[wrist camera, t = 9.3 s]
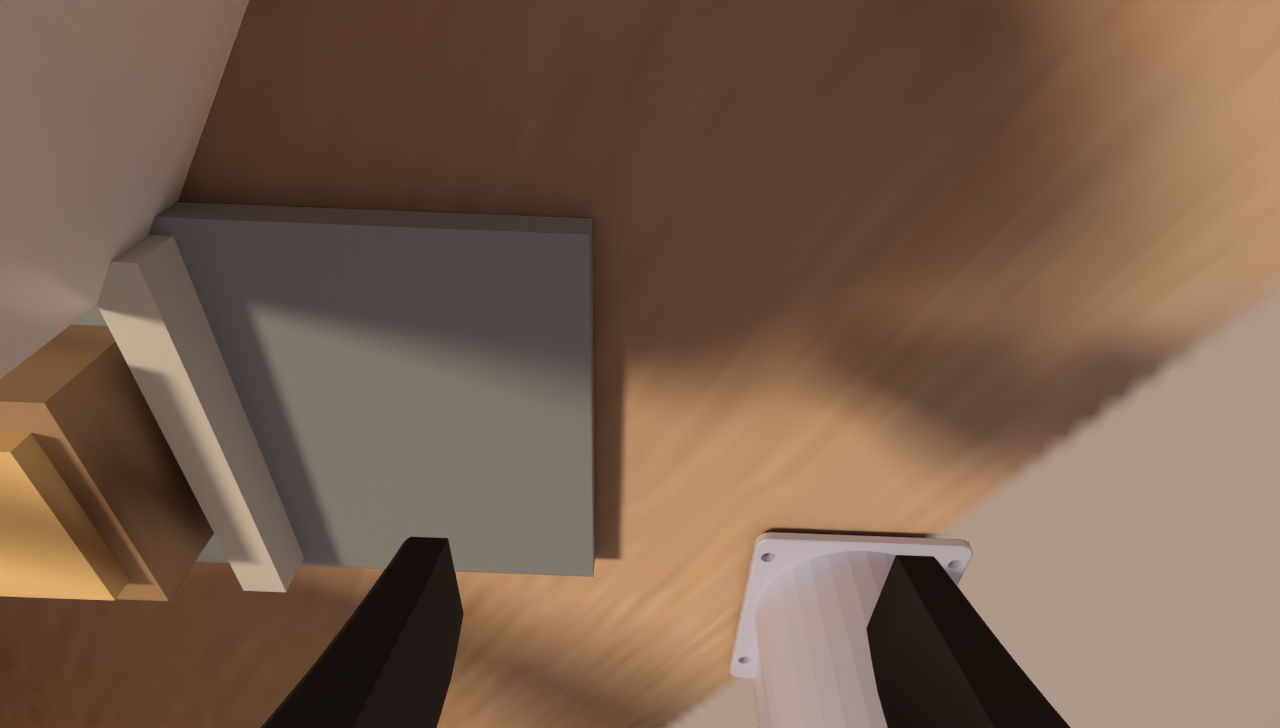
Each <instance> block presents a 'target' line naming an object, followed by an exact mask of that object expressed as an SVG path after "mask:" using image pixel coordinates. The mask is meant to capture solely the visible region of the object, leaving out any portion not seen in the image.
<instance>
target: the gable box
mask: <svg viewBox="0 0 1280 728" xmlns="http://www.w3.org/2000/svg"><path fill="white" fill-rule="evenodd" d="M248 3H249V0H0V379H1V378H3V377H4V376H5V375H6V374H8V373H9V372H10V371H12V370H13V369H14V368H16V367H17V366H18V365H19V364H21V363H22V362H23V361H25V360H26V359H27V358H28V357H30V356H31V355H32V354H34V353H35V352H36V351H37V350H39V349H40V348H41V347H43V346H44V345H45V344H47V343H48V342H49V341H50V340H52V339H53V338H54V337H56V336H57V335H58V334H59V333H61V332H62V331H63V330H65V329H66V328H67V327H68V326H70V325H71V324H72V323H74V322H75V321H76V320H78V319H79V318H80V317H81V316H83V315H84V314H85V313H87V312H88V311H89V310H90V309H92V308H93V307H94V306H96V305H97V303H98V300H99V297H100V293H101V290H102V287H103V284H104V280H105V277H106V274H107V271H108V268H109V264H110V262H111V261H112V260H114V259H115V258H117V257H118V256H119V255H121V254H122V253H124V252H125V251H126V250H128V249H129V248H131V247H132V246H133V245H135V244H136V243H138V242H139V241H140V240H142V239H143V238H145V237H146V236H147V235H148V234H149V231H150V228H151V225H152V222H153V219H154V217H155V216H157V215H158V214H160V213H161V212H163V211H164V210H165V209H167V208H168V207H170V206H171V205H173V204H174V203H176V202H178V199H179V196H180V193H181V191H182V188H183V185H184V182H185V179H186V177H187V174H188V171H189V168H190V165H191V163H192V160H193V157H194V154H195V151H196V149H197V146H198V143H199V140H200V137H201V135H202V132H203V129H204V126H205V123H206V120H207V118H208V115H209V112H210V109H211V106H212V104H213V101H214V98H215V95H216V92H217V90H218V87H219V84H220V81H221V78H222V76H223V73H224V70H225V67H226V64H227V62H228V59H229V56H230V53H231V50H232V48H233V45H234V42H235V39H236V36H237V34H238V31H239V28H240V25H241V22H242V19H243V17H244V14H245V11H246V8H247V5H248Z"/></svg>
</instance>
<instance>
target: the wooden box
mask: <svg viewBox="0 0 1280 728" xmlns="http://www.w3.org/2000/svg"><path fill="white" fill-rule="evenodd" d="M213 534H214V532H213V530H212V528H211V526H210V524H209V522H208V520H207V518H206V516H205V514H204V513H203V511H202V509H201V507H200V505H199V503H198V501H197V499H196V497H195V495H194V493H193V491H192V489H191V487H190V485H189V483H188V481H187V479H186V477H185V476H184V474H183V472H182V470H181V468H180V466H179V464H178V462H177V460H176V458H175V456H174V454H173V452H172V450H171V448H170V446H169V444H168V442H167V440H166V439H165V437H164V435H163V433H162V431H161V429H160V427H159V425H158V423H157V421H156V419H155V417H154V415H153V413H152V411H151V409H150V407H149V405H148V403H147V402H146V400H145V398H144V396H143V394H142V392H141V390H140V388H139V386H138V384H137V382H136V380H135V378H134V376H133V374H132V372H131V370H130V368H129V366H128V365H127V363H126V361H125V359H124V357H123V355H122V353H121V351H120V349H119V347H118V345H117V343H116V341H115V339H114V337H113V335H112V333H111V331H110V329H109V328H108V326H99V325H74V324H71V325H70V326H68V327H67V328H66V329H65V330H63V331H62V332H61V333H59V334H58V335H57V336H56V337H54V338H53V339H52V340H50V341H49V342H48V343H47V344H45V345H44V346H43V347H41V348H40V349H39V350H37V351H36V352H35V353H34V354H32V355H31V356H30V357H28V358H27V359H26V360H25V361H23V362H22V363H21V364H19V365H18V366H17V367H16V368H14V369H13V370H12V371H10V372H9V373H8V374H6V375H5V376H4V377H3V378H1V379H0V596H7V597H34V598H61V599H87V600H114V601H115V600H116V599H124V600H151V601H169V600H170V599H171V597H172V596H173V594H174V593H175V591H176V590H177V588H178V587H179V585H180V584H181V582H182V581H183V579H184V578H185V576H186V575H187V573H188V572H189V570H190V569H191V567H192V566H193V564H194V563H195V561H196V560H197V558H198V557H199V555H200V554H201V552H202V551H203V549H204V548H205V546H206V545H207V543H208V542H209V540H210V539H211V537H212V536H213Z"/></svg>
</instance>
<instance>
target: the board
mask: <svg viewBox="0 0 1280 728" xmlns="http://www.w3.org/2000/svg"><path fill="white" fill-rule="evenodd" d="M72 324H74V325H99V326H108V328H109V329H110V331H111V333H112V335H113V337H114V339H115V341H116V343H117V345H118V347H119V349H120V351H121V353H122V355H123V357H124V359H125V361H126V363H127V365H128V366H129V368H130V370H131V372H132V374H133V376H134V378H135V380H136V382H137V384H138V386H139V388H140V390H141V392H142V394H143V396H144V398H145V400H146V402H147V403H148V405H149V407H150V409H151V411H152V413H153V415H154V417H155V419H156V421H157V423H158V425H159V427H160V429H161V431H162V433H163V435H164V437H165V439H166V440H167V442H168V444H169V446H170V448H171V450H172V452H173V454H174V456H175V458H176V460H177V462H178V464H179V466H180V468H181V470H182V472H183V474H184V476H185V477H186V479H187V481H188V483H189V485H190V487H191V489H192V491H193V493H194V495H195V497H196V499H197V501H198V503H199V505H200V507H201V509H202V511H203V513H204V514H205V516H206V518H207V520H208V522H209V524H210V526H211V528H212V530H213V532H214V534H213V536H212V537H211V539H210V540H209V542H208V543H207V545H206V546H205V548H204V549H203V551H202V552H201V554H200V555H199V557H198V558H197V560H196V561H195V562H215V563H230V565H231V567H232V569H233V571H234V573H235V575H236V577H237V579H238V581H239V583H240V585H241V587H242V588H243V590H244V591H264V592H287V590H288V588H289V586H290V584H291V582H292V580H293V578H294V576H295V574H296V572H297V570H298V568H299V566H322V567H348V568H375V569H386V567H387V566H388V564H389V563H390V562H391V560H392V559H393V557H394V556H395V554H396V553H397V551H398V550H399V548H400V547H401V545H402V544H403V542H404V541H405V540H406V539H408V538H409V537H435V538H448V540H449V545H450V550H451V555H452V560H453V565H454V570H455V572H482V573H508V574H535V575H562V576H588V577H593V574H594V563H595V465H594V342H593V219H592V218H572V217H547V216H522V215H497V214H472V213H447V212H422V211H396V210H371V209H346V208H321V207H296V206H271V205H246V204H221V203H195V202H176V203H174V204H173V205H171V206H170V207H168V208H167V209H165V210H164V211H163V212H161V213H160V214H158V215H157V216H155V217H154V219H153V222H152V225H151V228H150V231H149V234H148V235H147V236H146V237H145V238H143V239H142V240H140V241H139V242H138V243H136V244H135V245H133V246H132V247H131V248H129V249H128V250H126V251H125V252H124V253H122V254H121V255H119V256H118V257H117V258H115V259H114V260H112V261H111V262H110V264H109V268H108V271H107V274H106V277H105V280H104V284H103V287H102V290H101V293H100V297H99V300H98V303H97V305H96V306H94V307H93V308H92V309H90V310H89V311H88V312H87V313H85V314H84V315H83V316H81V317H80V318H79V319H78V320H76V321H75V322H74V323H72Z"/></svg>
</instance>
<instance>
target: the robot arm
mask: <svg viewBox="0 0 1280 728" xmlns="http://www.w3.org/2000/svg"><path fill="white" fill-rule="evenodd" d="M972 554H973V551H972V549H971V547H970V545H969V543H968V542H967V541H965V540H960V539H936V538H910V537H883V536H857V535H830V534H804V533H777V532H767V533H763V534H761V535H760V536H758V537H757V538H756V540H755V545H754V550H753V554H752V559H751V564H750V569H749V574H748V579H747V583H746V588H745V593H744V598H743V603H742V608H741V613H740V617H739V622H738V627H737V632H736V637H735V642H734V646H733V651H732V656H731V661H730V672H731V674H732V675H733V676H734V677H737V678H751V679H753V681H754V690H755V698H756V706H757V715H758V722H759V728H1070V727H1069V725H1068V724H1067V723H1066V722H1065V721H1064V720H1063V718H1062V717H1061V716H1060V715H1059V714H1058V713H1057V711H1055V709H1054V708H1053V707H1052V706H1051V704H1050V703H1049V702H1048V701H1047V700H1046V698H1045V697H1044V696H1043V695H1042V693H1041V692H1040V691H1039V690H1038V689H1037V687H1036V686H1035V685H1034V684H1033V682H1032V681H1031V680H1030V679H1029V678H1028V676H1027V675H1026V674H1025V673H1024V671H1023V670H1022V669H1021V668H1020V667H1019V665H1018V664H1017V663H1016V662H1015V660H1014V659H1013V658H1012V657H1011V655H1010V654H1009V653H1008V652H1007V651H1006V649H1005V648H1004V647H1003V645H1002V644H1001V643H1000V642H999V640H998V639H997V638H996V637H995V635H994V634H993V633H992V631H991V630H990V629H989V627H988V626H987V625H986V624H985V622H984V621H983V620H982V618H981V617H980V616H979V615H978V613H977V612H976V610H975V609H974V608H973V607H972V605H971V604H970V603H969V601H968V600H967V599H966V597H965V596H964V595H963V593H962V592H961V591H960V589H959V588H958V587H957V584H958V582H959V581H960V578H961V577H962V575H963V573H964V571H965V569H966V567H967V565H968V563H969V561H970V559H971V557H972ZM462 619H463V609H462V604H461V599H460V594H459V589H458V584H457V580H456V575H455V570H454V565H453V560H452V555H451V550H450V545H449V540H448V538H435V537H409V538H408V539H406V540H405V541H404V542H403V544H402V545H401V547H400V548H399V550H398V551H397V553H396V554H395V556H394V557H393V559H392V560H391V562H390V563H389V564H388V566H387V567H386V569H385V570H384V572H383V573H382V575H381V576H380V577H379V579H378V580H377V582H376V583H375V584H374V586H373V587H372V589H371V590H370V591H369V593H368V594H367V596H366V597H365V598H364V600H363V601H362V602H361V604H360V605H359V606H358V608H357V609H356V611H355V612H354V613H353V615H352V616H351V617H350V619H349V620H348V621H347V623H346V624H345V625H344V626H343V628H342V629H341V630H340V632H339V633H338V634H337V635H336V637H335V638H334V639H333V641H332V642H331V643H330V644H329V646H328V647H327V648H326V650H325V651H324V652H323V653H322V655H321V656H320V657H319V659H318V660H317V661H316V662H315V664H314V665H313V666H312V667H311V669H310V670H309V671H308V672H307V674H306V675H305V676H304V677H303V678H302V680H301V681H300V682H299V683H298V684H297V685H296V687H295V688H294V689H293V690H292V691H291V693H290V694H289V695H288V696H287V697H286V698H285V700H284V701H283V702H282V703H281V704H280V706H279V707H278V708H277V709H276V710H275V711H274V713H273V714H272V715H271V716H270V717H269V719H268V720H267V721H266V722H265V723H264V724H263V726H262V727H261V728H437V724H438V721H439V718H440V714H441V711H442V708H443V704H444V701H445V698H446V694H447V691H448V687H449V684H450V680H451V677H452V672H453V667H454V662H455V657H456V652H457V646H458V641H459V635H460V630H461V624H462Z"/></svg>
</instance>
